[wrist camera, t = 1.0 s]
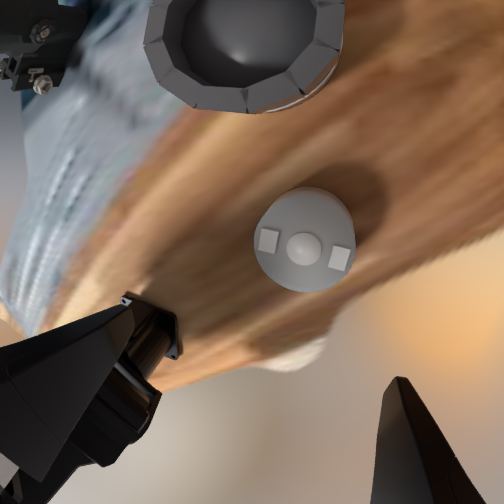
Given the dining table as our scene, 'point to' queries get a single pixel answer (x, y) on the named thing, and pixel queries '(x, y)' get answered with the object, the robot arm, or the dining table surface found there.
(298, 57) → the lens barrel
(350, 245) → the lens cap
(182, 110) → the dining table surface
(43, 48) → the scope
